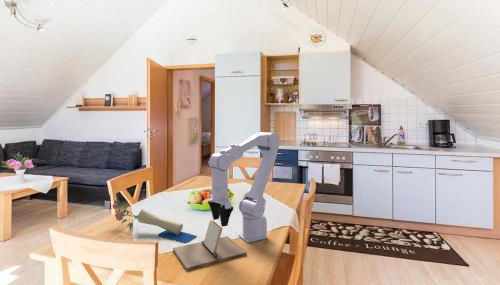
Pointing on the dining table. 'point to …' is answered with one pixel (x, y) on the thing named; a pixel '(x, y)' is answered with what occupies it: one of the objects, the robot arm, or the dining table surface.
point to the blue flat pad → (177, 236)
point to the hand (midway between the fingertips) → (220, 222)
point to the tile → (213, 236)
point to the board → (207, 253)
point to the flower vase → (148, 219)
